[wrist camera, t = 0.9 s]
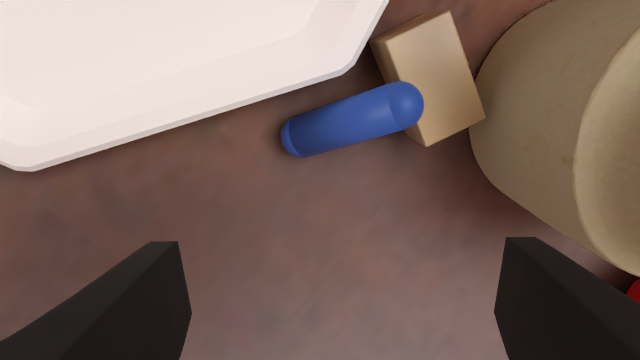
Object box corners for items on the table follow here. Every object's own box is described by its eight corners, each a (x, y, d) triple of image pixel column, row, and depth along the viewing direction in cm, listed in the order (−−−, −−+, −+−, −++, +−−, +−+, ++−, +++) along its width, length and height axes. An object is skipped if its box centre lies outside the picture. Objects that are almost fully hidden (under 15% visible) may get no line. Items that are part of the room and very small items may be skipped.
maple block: (405, 134, 23) (426, 148, 20) (367, 41, 22) (384, 41, 19) (459, 108, 23) (487, 118, 20) (425, 13, 22) (450, 9, 19)
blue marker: (290, 158, 23) (300, 188, 18) (272, 123, 22) (278, 144, 18) (400, 104, 23) (438, 120, 18) (385, 67, 22) (421, 74, 18)
